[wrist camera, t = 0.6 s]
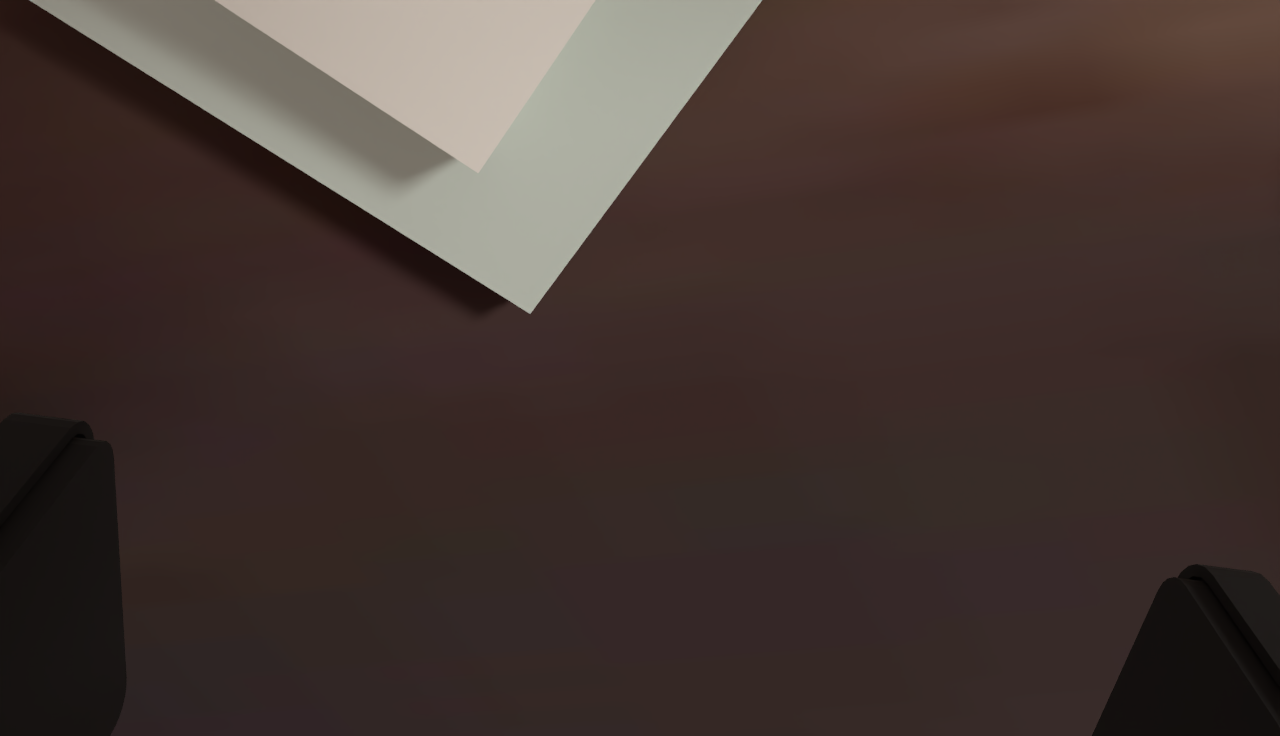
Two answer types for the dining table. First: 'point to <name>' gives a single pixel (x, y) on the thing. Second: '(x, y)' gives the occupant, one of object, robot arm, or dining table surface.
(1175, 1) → the dining table surface
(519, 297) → the base
